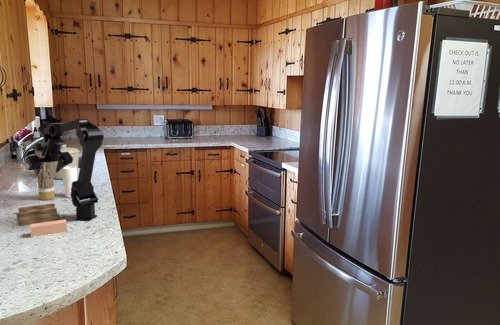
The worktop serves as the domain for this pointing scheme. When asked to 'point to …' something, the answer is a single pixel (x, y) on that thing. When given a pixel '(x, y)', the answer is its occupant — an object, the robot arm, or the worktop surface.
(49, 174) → the bark textured cylinder
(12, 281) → the worktop surface
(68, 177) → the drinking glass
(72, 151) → the canister
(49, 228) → the peach long block
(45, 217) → the brown ridged slab
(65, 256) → the worktop surface
